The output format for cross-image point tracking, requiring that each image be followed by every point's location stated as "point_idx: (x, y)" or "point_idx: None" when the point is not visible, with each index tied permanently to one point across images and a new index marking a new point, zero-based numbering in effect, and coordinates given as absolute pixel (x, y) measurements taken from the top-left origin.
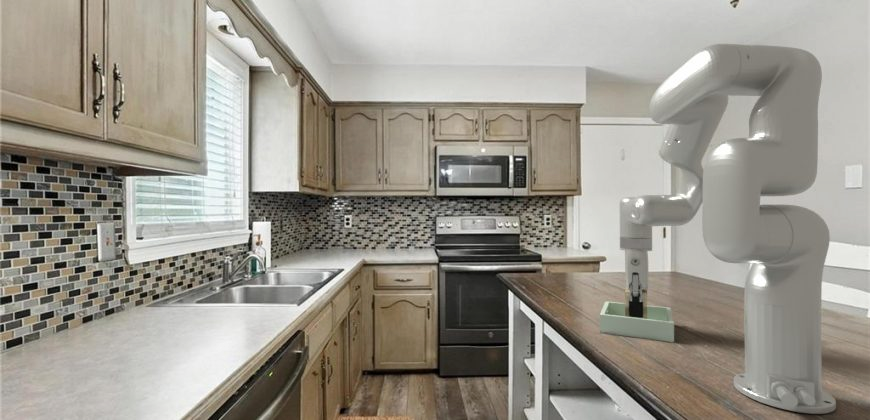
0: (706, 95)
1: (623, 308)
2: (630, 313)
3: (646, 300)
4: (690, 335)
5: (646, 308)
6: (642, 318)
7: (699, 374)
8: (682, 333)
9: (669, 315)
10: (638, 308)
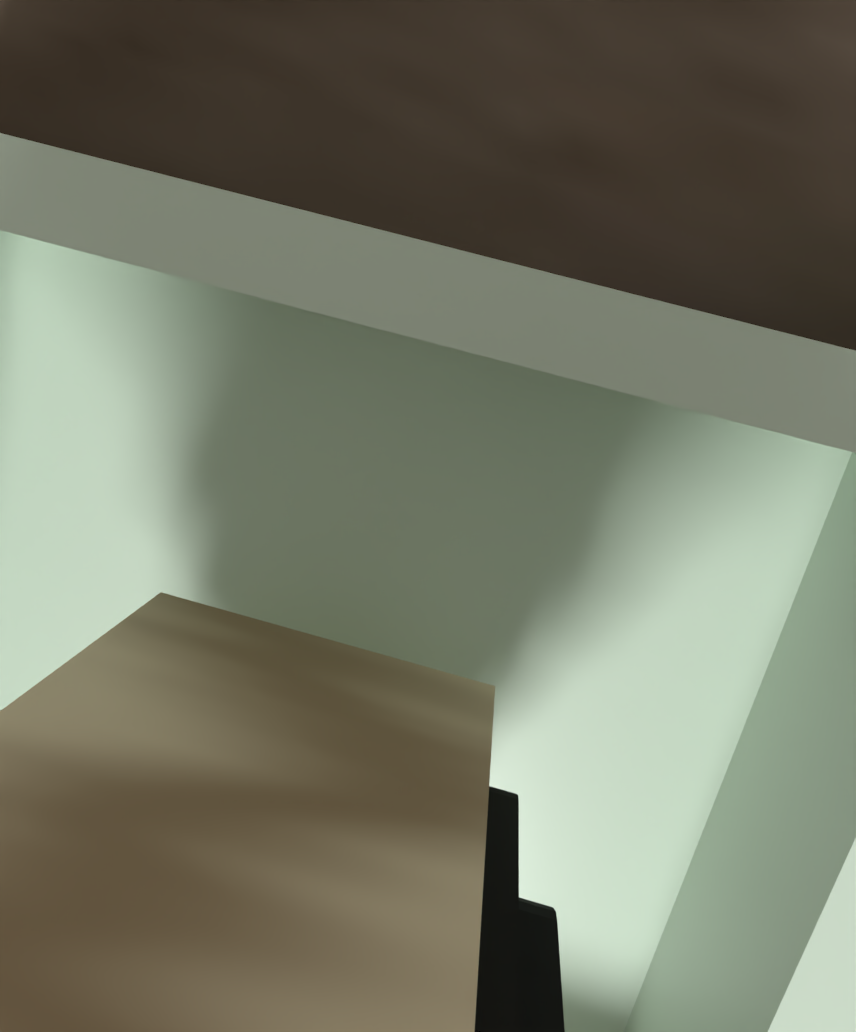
0: None
1: None
2: None
3: (466, 985)
4: (515, 7)
5: (478, 829)
6: (825, 917)
7: None
8: (429, 107)
9: (472, 312)
10: (552, 1005)
